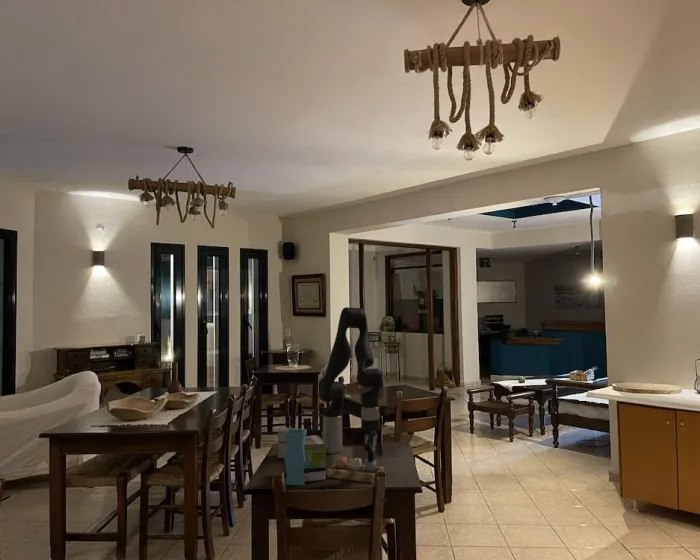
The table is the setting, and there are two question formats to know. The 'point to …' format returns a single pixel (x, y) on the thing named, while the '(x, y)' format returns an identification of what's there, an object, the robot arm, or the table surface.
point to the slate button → (370, 466)
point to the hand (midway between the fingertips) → (371, 460)
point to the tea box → (314, 459)
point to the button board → (352, 473)
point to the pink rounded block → (341, 463)
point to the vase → (295, 456)
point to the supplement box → (282, 442)
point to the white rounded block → (355, 464)
